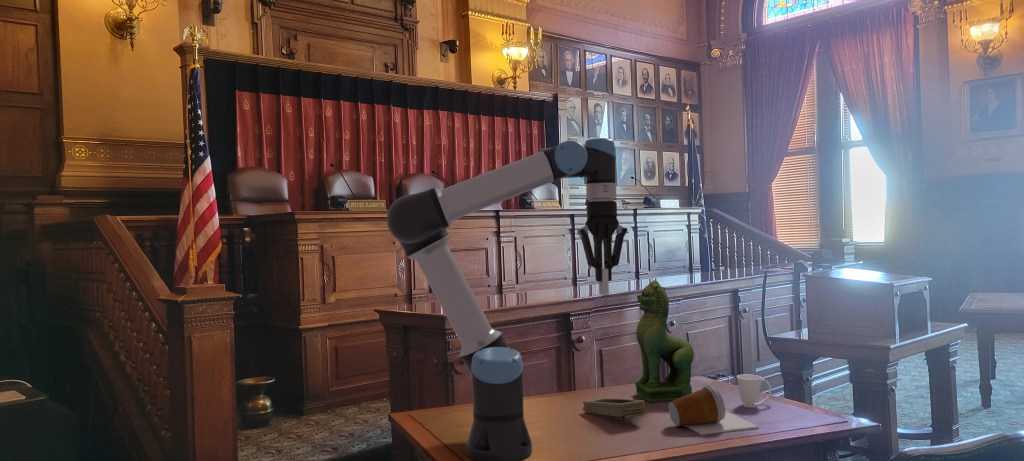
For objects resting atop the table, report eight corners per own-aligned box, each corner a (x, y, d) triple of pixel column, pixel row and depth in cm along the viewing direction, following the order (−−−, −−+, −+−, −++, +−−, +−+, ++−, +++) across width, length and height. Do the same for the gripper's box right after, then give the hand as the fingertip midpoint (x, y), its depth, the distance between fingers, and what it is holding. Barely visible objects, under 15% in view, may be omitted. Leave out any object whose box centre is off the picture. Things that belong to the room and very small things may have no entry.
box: (622, 424, 182) (620, 403, 183) (576, 418, 202) (574, 400, 202) (649, 419, 186) (647, 400, 186) (600, 415, 205) (599, 397, 206)
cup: (732, 403, 205) (731, 374, 205) (765, 400, 206) (764, 372, 206) (743, 409, 198) (743, 380, 198) (777, 407, 199) (777, 378, 199)
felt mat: (701, 434, 176) (701, 432, 176) (670, 418, 191) (670, 416, 191) (758, 428, 180) (758, 426, 180) (724, 412, 195) (724, 410, 195)
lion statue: (631, 393, 219) (628, 279, 219) (682, 390, 222) (679, 277, 222) (646, 404, 206) (643, 282, 205) (701, 400, 209) (698, 280, 208)
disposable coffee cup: (670, 389, 181) (714, 378, 183) (662, 403, 189) (704, 392, 191) (685, 425, 176) (730, 413, 178) (676, 438, 184) (719, 426, 186)
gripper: (582, 200, 175) (584, 297, 176) (631, 199, 179) (634, 294, 179) (572, 201, 183) (574, 294, 183) (619, 200, 186) (622, 291, 186)
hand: (604, 294), depth 181 cm, fingers closed
